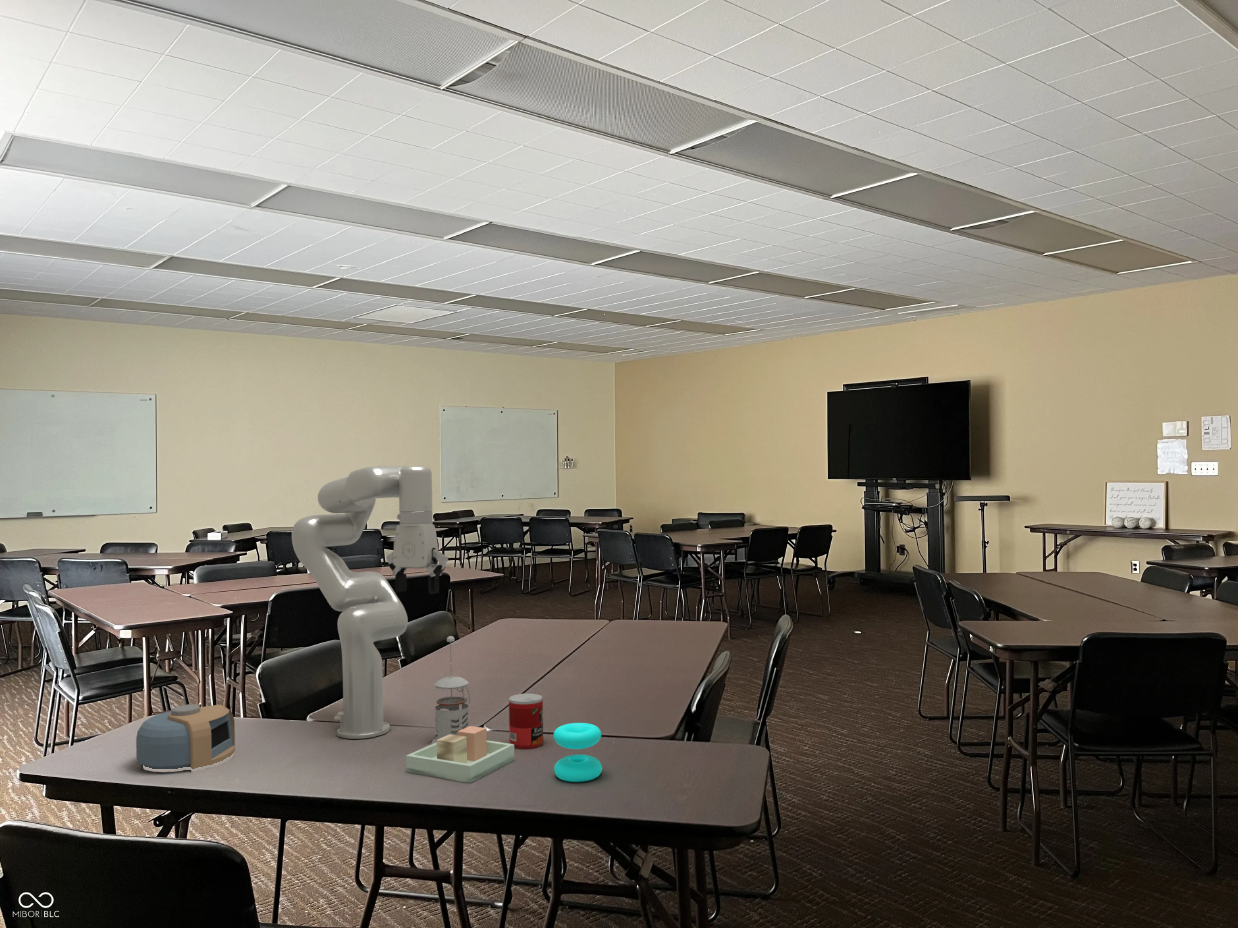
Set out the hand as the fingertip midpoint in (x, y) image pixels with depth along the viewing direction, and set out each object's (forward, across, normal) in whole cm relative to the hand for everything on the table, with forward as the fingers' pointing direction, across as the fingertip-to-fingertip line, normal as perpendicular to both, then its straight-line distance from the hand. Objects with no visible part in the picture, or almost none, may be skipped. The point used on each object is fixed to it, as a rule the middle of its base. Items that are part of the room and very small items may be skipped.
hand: (417, 592), depth 206 cm
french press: (+36, +3, +9) cm, 38 cm away
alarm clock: (+37, -44, -28) cm, 64 cm away
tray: (+36, +16, -6) cm, 40 cm away
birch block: (+35, +17, -10) cm, 40 cm away
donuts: (+37, +43, -1) cm, 56 cm away
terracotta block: (+35, +17, -2) cm, 39 cm away
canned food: (+36, +21, +13) cm, 44 cm away
